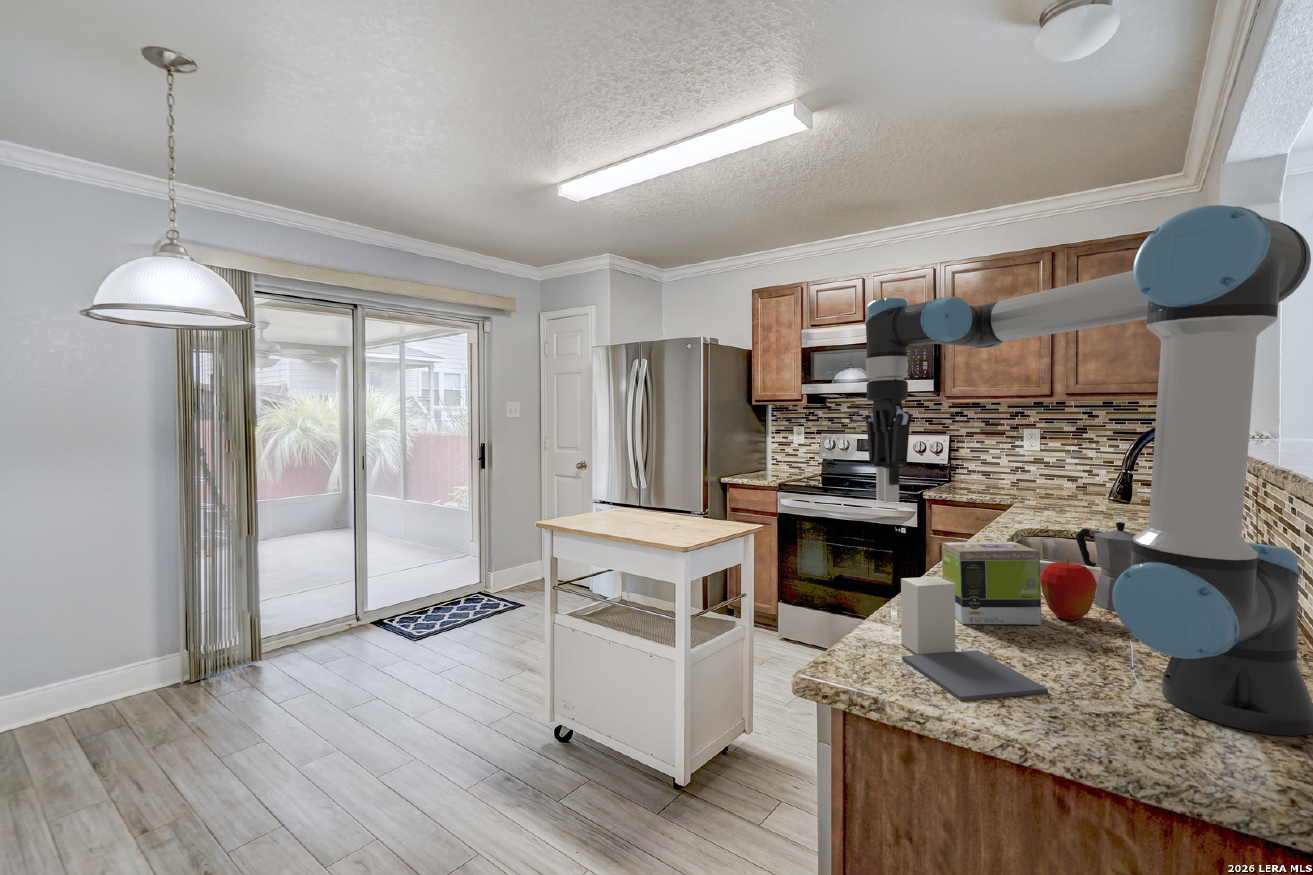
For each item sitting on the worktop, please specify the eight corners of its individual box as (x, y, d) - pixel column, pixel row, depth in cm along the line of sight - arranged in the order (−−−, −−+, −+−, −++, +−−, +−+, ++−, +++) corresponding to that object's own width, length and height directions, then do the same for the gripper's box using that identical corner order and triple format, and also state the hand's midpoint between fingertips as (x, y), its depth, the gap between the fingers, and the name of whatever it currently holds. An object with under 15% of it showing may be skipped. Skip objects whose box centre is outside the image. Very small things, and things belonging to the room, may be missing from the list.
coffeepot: (1169, 612, 122) (1170, 524, 121) (1144, 619, 118) (1144, 529, 117) (1088, 593, 136) (1088, 514, 135) (1063, 599, 132) (1063, 518, 131)
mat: (1048, 692, 87) (1048, 688, 87) (960, 700, 85) (960, 696, 85) (977, 653, 101) (977, 650, 101) (901, 659, 99) (901, 656, 99)
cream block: (955, 653, 102) (955, 583, 102) (917, 656, 101) (917, 586, 101) (937, 642, 107) (937, 576, 107) (901, 645, 106) (901, 578, 106)
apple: (1101, 617, 119) (1101, 558, 119) (1090, 628, 113) (1090, 565, 112) (1047, 607, 126) (1047, 551, 125) (1034, 617, 120) (1034, 558, 119)
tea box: (1016, 610, 124) (1016, 540, 124) (1042, 627, 114) (1042, 550, 114) (941, 609, 126) (941, 539, 125) (960, 625, 116) (960, 550, 115)
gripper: (928, 376, 109) (928, 505, 109) (884, 382, 124) (884, 495, 124) (890, 377, 108) (890, 506, 108) (850, 382, 123) (851, 496, 123)
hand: (887, 500), depth 116 cm, fingers open, 2 cm apart
